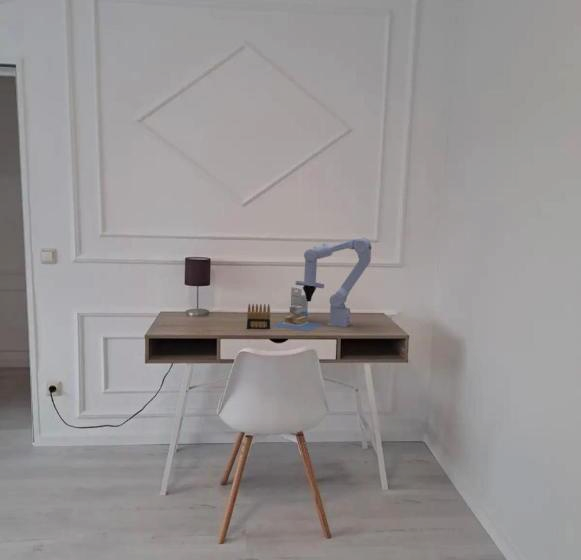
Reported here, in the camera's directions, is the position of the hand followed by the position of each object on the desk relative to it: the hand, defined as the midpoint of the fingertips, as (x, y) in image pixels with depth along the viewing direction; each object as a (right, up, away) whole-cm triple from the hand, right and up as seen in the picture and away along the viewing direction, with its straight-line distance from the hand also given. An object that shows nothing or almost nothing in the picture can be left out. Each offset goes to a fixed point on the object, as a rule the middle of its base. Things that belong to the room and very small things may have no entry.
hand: (308, 301), depth 254 cm
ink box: (-5, -8, +16) cm, 19 cm away
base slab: (-7, -10, -3) cm, 13 cm away
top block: (-6, -7, -4) cm, 10 cm away
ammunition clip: (-24, -13, -17) cm, 32 cm away
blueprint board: (-6, -12, -8) cm, 15 cm away
